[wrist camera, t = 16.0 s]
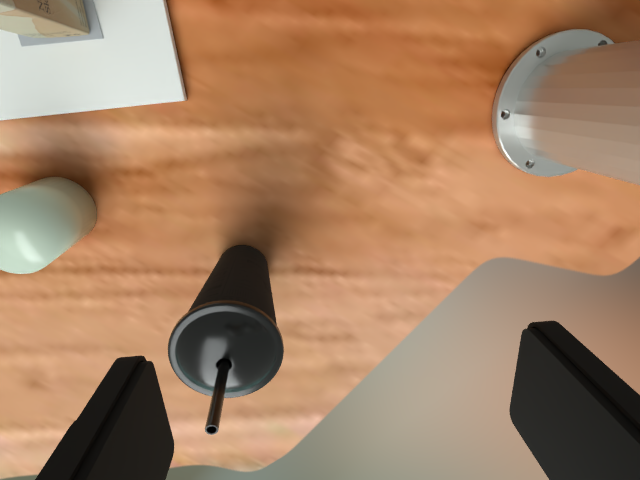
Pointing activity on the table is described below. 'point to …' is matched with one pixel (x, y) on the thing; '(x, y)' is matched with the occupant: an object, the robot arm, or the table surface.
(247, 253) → the drinking cup
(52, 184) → the pale green capsule
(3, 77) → the white square plate
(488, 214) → the table surface
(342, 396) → the table surface
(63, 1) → the box
